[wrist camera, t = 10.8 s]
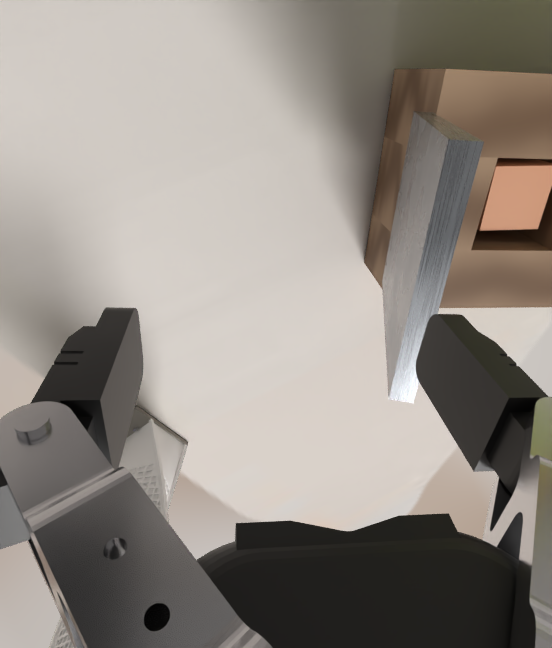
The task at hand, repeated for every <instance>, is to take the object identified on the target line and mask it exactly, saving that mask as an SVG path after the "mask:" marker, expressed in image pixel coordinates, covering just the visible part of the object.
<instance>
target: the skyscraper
mask: <svg viewBox="0 0 552 648" xmlns="http://www.w3.org/2000/svg"><path fill="white" fill-rule="evenodd" d="M187 446H188V442H187V441H185V440H184V439H183V438H181V437H180V436H178V435H177V434H176V433H174V432H173V431H171V430H170V429H169V428H167V427H166V426H165V425H163V424H162V423H160V422H159V421H158V420H156V419H155V418H153V417H152V416H151V415H149V414H148V413H147V412H145V411H144V410H142V409H141V408H140V407H138V406H136V407H135V408H134V411H133V415H132V419H131V423H130V427H129V430H128V434H127V438H126V442H125V446H124V449H123V453H122V457H121V461H120V464H119V467H125V468H126V469H127V470H128V471H129V472H130V473H131V474H132V475H133V477H134V478H135V479H136V481H137V482H138V483H139V485H140V486H141V487H142V489H143V490H144V491H145V493H146V494H147V495H148V497H149V498H150V499H151V501H152V502H153V503H154V505H155V506H156V507H157V509H158V510H159V511H160V513H161V514H162V515H163V517H164V518H165V519H166V521H167V522H168V523H169V518H168V509H169V506H170V502H171V499H172V496H173V493H174V489H175V486H176V483H177V479H178V476H179V473H180V469H181V466H182V463H183V459H184V456H185V453H186V449H187ZM49 648H74V646H73V644H72V642H71V639H70V637H69V635H68V632H67V630H66V627H65V625H64V622H63V620H62V618H60V620H59V622H58V625H57V627H56V630H55V632H54V635H53V638H52V641H51V644H50V646H49Z"/></svg>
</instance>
